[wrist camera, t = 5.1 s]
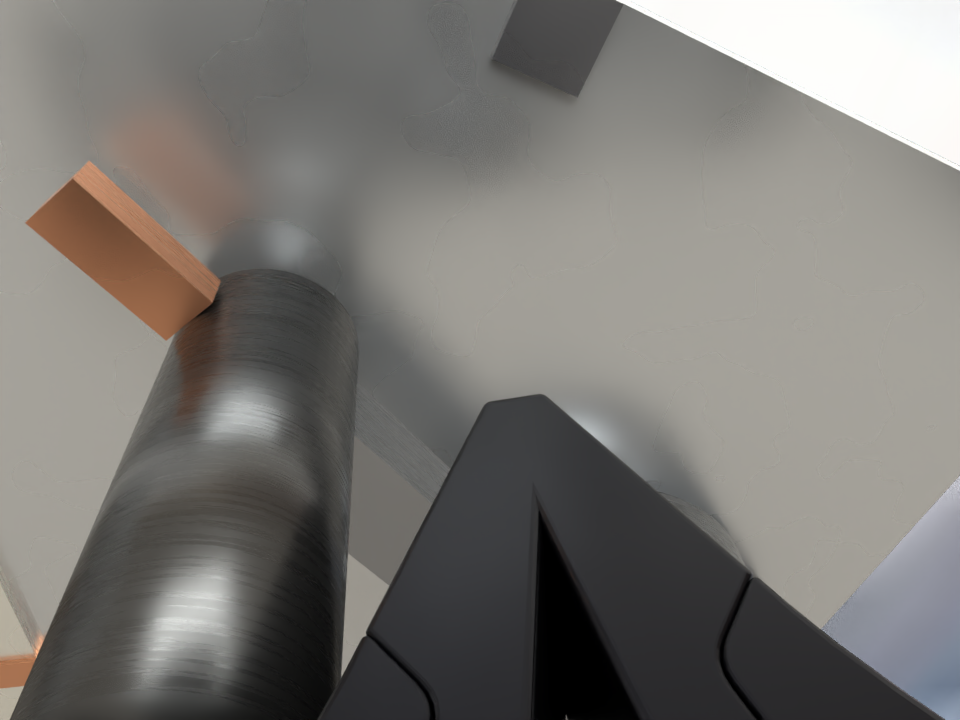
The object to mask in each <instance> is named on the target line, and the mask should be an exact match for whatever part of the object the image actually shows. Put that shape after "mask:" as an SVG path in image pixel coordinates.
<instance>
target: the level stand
mask: <svg viewBox="0 0 960 720" xmlns="http://www.w3.org/2000/svg"><path fill="white" fill-rule="evenodd" d="M88 161H90V162H91V163H93V164H94V165H95V166H96V167H97V168H98V169H99V170H100V171H101V172H102V173H103V174H105V175H106V176H107V177H108V178H109V179H110V180H111V181H112V182H113V183H114V184H116V185H117V186H118V187H119V188H120V189H121V190H122V191H123V192H124V193H125V194H127V195H128V196H129V197H130V198H131V199H132V200H133V201H134V202H135V203H136V204H138V205H139V206H140V207H141V208H142V209H143V210H144V211H145V212H146V213H147V214H148V215H150V216H151V217H152V218H153V219H154V220H155V221H156V222H157V223H158V224H159V225H161V226H162V227H163V228H164V229H165V230H166V231H167V232H168V233H169V234H170V235H172V236H173V237H174V238H175V239H176V240H177V241H178V242H179V243H180V244H181V245H182V246H184V247H185V248H186V249H187V250H188V251H189V252H190V253H191V254H192V255H193V256H195V257H196V258H197V259H198V260H199V261H200V262H201V263H202V264H203V265H204V266H206V267H207V268H208V269H209V270H210V271H211V272H212V273H213V274H214V275H215V276H216V277H218V278H220V277H222V276H225V275H228V274H230V273H233V272H237V271H242V270H247V269H257V268H264V269H277V270H284V271H288V272H292V273H295V274H298V275H301V276H303V277H306V278H308V279H310V280H312V281H314V282H316V283H318V284H319V285H320V286H322V287H323V288H325V289H326V290H328V291H329V292H330V293H331V294H332V295H333V296H335V297H336V298H337V299H338V301H339V302H340V303H341V304H342V305H343V306H344V308H345V309H346V311H347V312H348V314H349V315H350V317H351V319H352V321H353V323H354V326H355V329H356V332H357V336H358V342H359V363H358V383H359V384H360V385H361V386H362V387H363V388H364V389H365V390H366V391H367V392H369V393H370V394H371V395H372V396H373V397H374V398H375V399H376V400H377V401H378V402H379V403H380V404H381V405H383V406H384V407H385V408H386V409H387V410H388V411H389V412H390V413H391V414H392V415H393V416H394V417H395V418H396V419H398V420H399V421H400V422H401V423H402V424H403V425H404V426H405V427H406V428H407V429H408V430H409V431H410V432H412V433H413V434H414V435H415V436H416V437H417V438H418V439H419V440H420V441H421V442H422V443H423V444H424V445H426V446H427V447H428V448H429V449H430V450H431V451H432V452H433V453H434V454H435V455H436V456H437V457H438V458H440V459H441V460H442V461H443V462H444V463H445V464H446V465H447V466H448V467H449V468H450V469H451V467H452V465H453V463H454V461H455V459H456V457H457V455H458V454H459V452H460V450H461V448H462V446H463V444H464V442H465V440H466V438H467V436H468V434H469V432H470V430H471V429H472V427H473V425H474V423H475V421H476V419H477V417H478V415H479V413H480V411H481V409H482V408H483V406H484V404H486V403H487V402H489V401H495V400H502V399H509V398H515V397H521V396H528V395H534V394H543V395H546V396H547V397H548V398H549V399H551V400H552V401H553V402H554V403H555V404H556V405H558V406H559V407H560V408H561V409H562V410H563V411H565V412H566V413H567V414H568V415H569V416H570V417H572V418H573V419H574V420H575V421H576V422H577V423H579V424H580V425H581V426H582V427H583V428H584V429H585V430H587V431H588V432H589V433H590V434H591V435H592V436H594V437H595V438H596V439H597V440H598V441H599V442H601V443H602V444H603V445H604V446H605V447H606V448H608V449H609V450H610V451H611V452H612V453H613V454H615V455H616V456H617V457H618V458H619V459H620V460H622V461H623V462H624V463H625V464H626V465H627V466H629V467H630V468H631V469H632V470H633V471H634V472H636V473H637V474H638V475H639V476H640V477H641V478H643V479H644V480H645V481H646V482H647V483H648V484H650V485H651V486H652V487H653V488H654V489H655V490H657V491H658V492H663V493H666V494H669V495H672V496H675V497H678V498H681V499H683V500H685V501H687V502H689V503H691V504H693V505H695V506H697V507H699V508H700V509H702V510H703V511H704V512H706V513H707V514H709V515H710V516H712V517H713V518H714V519H715V520H716V521H717V522H718V523H719V524H720V525H721V526H722V527H723V528H724V529H725V530H726V531H727V533H728V534H729V536H730V537H731V538H732V540H733V541H734V543H735V545H736V547H737V549H738V551H739V553H740V555H741V557H742V559H743V561H744V563H745V565H746V567H747V569H749V570H750V571H751V573H752V578H753V577H758V578H760V579H761V580H762V581H763V582H764V583H765V584H767V585H768V586H769V587H770V588H771V589H772V590H774V591H775V592H776V593H777V594H778V595H779V596H781V597H782V598H783V599H784V600H785V601H786V602H788V603H789V604H790V605H791V606H792V607H794V608H795V609H796V610H797V611H799V612H800V613H801V614H802V615H804V616H805V617H806V618H807V619H809V620H810V621H811V622H812V623H813V624H815V625H816V626H817V627H818V628H820V629H821V628H822V627H823V626H824V625H825V624H826V623H827V622H828V621H829V620H830V618H831V617H832V616H833V615H834V614H835V613H836V612H837V611H838V610H839V608H840V607H841V606H842V605H843V604H844V603H845V602H846V601H847V600H848V599H849V597H850V596H851V595H852V594H853V593H854V592H855V591H856V590H857V589H858V587H859V586H860V585H861V584H862V583H863V582H864V581H865V580H866V579H867V578H868V576H869V575H870V574H871V573H872V572H873V571H874V570H875V569H876V568H877V566H878V565H879V564H880V563H881V562H882V561H883V560H884V559H885V558H886V556H887V555H888V554H889V553H890V552H891V551H892V550H893V549H894V548H895V547H896V545H897V544H898V543H899V542H900V541H901V540H902V539H903V538H904V537H905V535H906V534H907V533H908V532H909V531H910V530H911V529H912V528H913V527H914V526H915V524H916V523H917V522H918V521H919V520H920V519H921V518H922V517H923V516H924V514H925V513H926V512H927V511H928V510H929V509H930V508H931V507H932V506H933V505H934V503H935V502H936V501H937V500H938V499H939V498H940V497H941V496H942V495H943V493H944V492H945V491H946V490H947V489H948V488H949V487H950V486H951V485H952V484H953V482H954V481H955V480H956V479H957V478H958V477H959V476H960V166H959V165H957V164H955V163H953V162H951V161H949V160H946V159H944V158H942V157H940V156H938V155H936V154H934V153H932V152H930V151H928V150H926V149H924V148H922V147H920V146H918V145H916V144H914V143H912V142H910V141H908V140H906V139H904V138H902V137H900V136H898V135H896V134H894V133H892V132H890V131H888V130H886V129H884V128H882V127H880V126H878V125H876V124H874V123H872V122H870V121H868V120H866V119H864V118H862V117H860V116H858V115H856V114H854V113H852V112H850V111H848V110H846V109H844V108H842V107H840V106H838V105H836V104H834V103H832V102H830V101H828V100H826V99H824V98H822V97H820V96H818V95H816V94H814V93H812V92H810V91H808V90H806V89H804V88H802V87H800V86H798V85H796V84H794V83H792V82H790V81H788V80H786V79H784V78H782V77H780V76H778V75H776V74H774V73H772V72H770V71H768V70H766V69H764V68H762V67H760V66H758V65H756V64H754V63H752V62H750V61H748V60H746V59H744V58H742V57H740V56H738V55H736V54H734V53H732V52H730V51H728V50H726V49H724V48H722V47H720V46H718V45H716V44H714V43H712V42H710V41H708V40H706V39H704V38H702V37H700V36H698V35H696V34H694V33H692V32H690V31H688V30H686V29H684V28H682V27H680V26H678V25H676V24H674V23H672V22H670V21H668V20H666V19H664V18H662V17H660V16H658V15H656V14H654V13H652V12H650V11H648V10H646V9H644V8H642V7H640V6H638V5H636V4H634V3H632V2H630V1H628V0H0V720H10V718H11V716H12V713H13V711H14V709H15V706H16V704H17V702H18V699H19V697H20V695H21V692H22V690H23V688H24V685H25V683H26V681H27V678H28V676H29V674H30V671H31V669H32V667H33V664H34V662H35V660H36V657H37V655H38V653H39V650H40V648H41V646H42V643H43V641H44V638H45V636H46V634H47V631H48V629H49V627H50V624H51V622H52V620H53V617H54V615H55V613H56V610H57V608H58V606H59V603H60V601H61V599H62V596H63V594H64V592H65V589H66V587H67V585H68V582H69V580H70V578H71V575H72V573H73V571H74V568H75V566H76V564H77V561H78V559H79V557H80V554H81V552H82V550H83V547H84V545H85V543H86V540H87V538H88V536H89V533H90V531H91V529H92V526H93V524H94V522H95V519H96V517H97V515H98V512H99V510H100V508H101V505H102V503H103V501H104V498H105V496H106V494H107V491H108V489H109V487H110V484H111V482H112V480H113V477H114V475H115V473H116V470H117V468H118V466H119V463H120V461H121V459H122V456H123V454H124V452H125V449H126V447H127V445H128V442H129V440H130V438H131V435H132V433H133V431H134V428H135V426H136V424H137V421H138V419H139V417H140V414H141V412H142V410H143V407H144V405H145V403H146V400H147V398H148V396H149V393H150V391H151V389H152V386H153V384H154V382H155V379H156V377H157V375H158V372H159V370H160V368H161V365H162V363H163V361H164V358H165V356H166V354H167V351H168V349H169V347H170V344H171V342H172V340H173V337H174V335H175V334H174V335H173V336H172V337H170V338H169V339H168V340H167V341H166V340H165V339H163V338H162V337H161V336H160V335H159V334H157V333H156V332H155V331H154V330H153V329H151V328H150V327H149V326H148V325H147V324H145V323H144V322H143V321H142V320H141V319H139V318H138V317H137V316H136V315H135V314H133V313H132V312H131V311H130V310H129V309H127V308H126V307H125V306H124V305H123V304H122V303H120V302H119V301H118V300H117V299H116V298H114V297H113V296H112V295H111V294H110V293H108V292H107V291H106V290H105V289H104V288H102V287H101V286H100V285H99V284H98V283H96V282H95V281H94V280H93V279H92V278H90V277H89V276H88V275H87V274H86V273H84V272H83V271H82V270H81V269H80V268H78V267H77V266H76V265H75V264H74V263H72V262H71V261H70V260H69V259H68V258H66V257H65V256H64V255H63V254H62V253H60V252H59V251H58V250H57V249H56V248H54V247H53V246H52V245H51V244H50V243H48V242H47V241H46V240H45V239H44V238H42V237H41V236H40V235H39V234H38V233H36V232H35V231H34V230H33V229H32V228H30V227H29V226H28V225H27V224H26V223H25V222H26V221H27V220H28V219H29V218H30V217H31V216H32V215H33V214H34V213H35V212H36V211H37V210H38V209H39V207H40V206H41V205H42V204H43V203H44V202H45V201H46V200H47V199H49V198H50V197H51V196H52V195H53V194H54V193H55V192H56V191H57V190H58V189H59V188H60V187H61V186H63V185H64V184H65V183H66V182H67V181H68V180H69V179H70V178H71V177H72V176H73V175H74V174H75V173H76V172H78V171H79V170H80V169H81V168H82V167H83V166H84V165H85V164H86V163H87V162H88ZM388 588H389V585H388V584H386V583H385V582H384V581H383V580H381V579H380V578H379V577H378V576H376V575H375V574H374V573H372V572H371V571H370V570H369V569H367V568H366V567H365V566H364V565H362V564H361V563H360V562H358V561H357V560H356V559H355V558H353V557H352V556H351V555H349V554H348V562H347V580H346V598H345V617H344V635H343V653H342V671H341V677H342V675H343V673H344V671H345V670H346V668H347V666H348V664H349V662H350V660H351V658H352V656H353V654H354V652H355V650H356V648H357V646H358V644H359V642H360V640H361V639H362V638H363V637H364V636H366V630H367V628H368V626H369V624H370V622H371V620H372V618H373V616H374V615H375V613H376V611H377V609H378V607H379V605H380V603H381V601H382V599H383V597H384V595H385V593H386V592H387V590H388Z"/></svg>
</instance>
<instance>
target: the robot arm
mask: <svg viewBox="0 0 960 720" xmlns="http://www.w3.org/2000/svg"><path fill="white" fill-rule="evenodd" d="M566 716H567V720H945V719H944V718H942V717H941V716H939V715H938V714H936V713H935V712H933V711H932V710H931V709H929V708H928V707H926V706H925V705H923V704H922V703H920V702H919V701H918V700H916V699H915V698H913V697H912V696H910V695H909V694H907V693H906V692H904V691H903V690H902V689H900V688H899V687H897V686H896V685H895V684H893V683H892V682H891V681H889V680H888V679H886V678H885V677H884V676H882V675H881V674H880V673H878V672H877V671H875V670H874V669H873V668H871V667H870V666H869V665H867V664H866V663H864V662H863V661H862V660H860V659H859V658H857V657H856V656H855V655H853V654H852V653H851V652H849V651H848V650H846V649H845V648H844V647H842V646H841V645H840V644H838V643H837V642H836V641H835V640H833V639H832V638H831V637H830V636H828V635H827V634H826V633H825V632H823V631H822V630H821V629H820V628H818V627H817V626H816V625H815V624H813V623H812V622H811V621H810V620H809V619H807V618H806V617H805V616H804V615H802V614H801V613H800V612H799V611H797V610H796V609H795V608H794V607H792V606H791V605H790V604H789V603H788V602H786V601H785V600H784V599H783V598H782V597H781V596H779V595H778V594H777V593H776V592H775V591H774V590H772V589H771V588H770V587H769V586H768V585H767V584H765V583H764V582H763V581H762V580H761V579H760V578H758V577H753V578H752V573H751V571H750V570H749V569H747V568H746V567H745V566H744V565H743V564H742V563H741V562H739V561H738V560H737V559H736V558H735V557H734V556H732V555H731V554H730V553H729V552H728V551H727V550H725V549H724V548H723V547H722V546H721V545H720V544H718V543H717V542H716V541H715V540H714V539H713V538H711V537H710V536H709V535H708V534H707V533H706V532H704V531H703V530H702V529H701V528H700V527H699V526H697V525H696V524H695V523H694V522H693V521H692V520H690V519H689V518H688V517H687V516H686V515H685V514H683V513H682V512H681V511H680V510H679V509H678V508H676V507H675V506H674V505H673V504H672V503H671V502H669V501H668V500H667V499H666V498H665V497H664V496H662V495H661V494H660V493H659V492H658V491H657V490H655V489H654V488H653V487H652V486H651V485H650V484H648V483H647V482H646V481H645V480H644V479H643V478H641V477H640V476H639V475H638V474H637V473H636V472H634V471H633V470H632V469H631V468H630V467H629V466H627V465H626V464H625V463H624V462H623V461H622V460H620V459H619V458H618V457H617V456H616V455H615V454H613V453H612V452H611V451H610V450H609V449H608V448H606V447H605V446H604V445H603V444H602V443H601V442H599V441H598V440H597V439H596V438H595V437H594V436H592V435H591V434H590V433H589V432H588V431H587V430H585V429H584V428H583V427H582V426H581V425H580V424H579V423H577V422H576V421H575V420H574V419H573V418H572V417H570V416H569V415H568V414H567V413H566V412H565V411H563V410H562V409H561V408H560V407H559V406H558V405H556V404H555V403H554V402H553V401H552V400H551V399H549V398H548V397H547V396H546V395H543V394H534V395H528V396H521V397H515V398H509V399H502V400H495V401H489V402H487V403H486V404H484V406H483V408H482V409H481V411H480V413H479V415H478V417H477V419H476V421H475V423H474V425H473V427H472V429H471V430H470V432H469V434H468V436H467V438H466V440H465V442H464V444H463V446H462V448H461V450H460V452H459V454H458V455H457V457H456V459H455V461H454V463H453V465H452V467H451V469H450V471H449V473H448V475H447V477H446V478H445V480H444V482H443V484H442V486H441V488H440V490H439V492H438V494H437V496H436V498H435V500H434V501H433V503H432V505H431V507H430V509H429V511H428V513H427V515H426V517H425V519H424V521H423V523H422V524H421V526H420V528H419V530H418V532H417V534H416V536H415V538H414V540H413V542H412V544H411V546H410V547H409V549H408V551H407V553H406V555H405V557H404V559H403V561H402V563H401V565H400V567H399V569H398V570H397V572H396V574H395V576H394V578H393V580H392V582H391V584H390V586H389V588H388V590H387V592H386V593H385V595H384V597H383V599H382V601H381V603H380V605H379V607H378V609H377V611H376V613H375V615H374V616H373V618H372V620H371V622H370V624H369V626H368V628H367V630H366V636H364V637H363V638H362V639H361V640H360V642H359V644H358V646H357V648H356V650H355V652H354V654H353V656H352V658H351V660H350V662H349V664H348V666H347V668H346V670H345V671H344V673H343V675H342V677H341V679H340V680H339V682H338V684H337V686H336V688H335V689H334V691H333V693H332V695H331V696H330V698H329V700H328V702H327V703H326V705H325V707H324V709H323V710H322V712H321V714H320V716H319V718H318V719H317V720H566Z"/></svg>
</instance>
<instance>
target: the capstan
mask: <svg viewBox="0 0 960 720" xmlns="http://www.w3.org/2000/svg"><path fill="white" fill-rule="evenodd" d="M25 223H26V224H27V225H28V226H29V227H30V228H32V229H33V230H34V231H35V232H36V233H38V234H39V235H40V236H41V237H42V238H44V239H45V240H46V241H47V242H48V243H50V244H51V245H52V246H53V247H54V248H56V249H57V250H58V251H59V252H60V253H62V254H63V255H64V256H65V257H66V258H68V259H69V260H70V261H71V262H72V263H74V264H75V265H76V266H77V267H78V268H80V269H81V270H82V271H83V272H84V273H86V274H87V275H88V276H89V277H90V278H92V279H93V280H94V281H95V282H96V283H98V284H99V285H100V286H101V287H102V288H104V289H105V290H106V291H107V292H108V293H110V294H111V295H112V296H113V297H114V298H116V299H117V300H118V301H119V302H120V303H122V304H123V305H124V306H125V307H126V308H127V309H129V310H130V311H131V312H132V313H133V314H135V315H136V316H137V317H138V318H139V319H141V320H142V321H143V322H144V323H145V324H147V325H148V326H149V327H150V328H151V329H153V330H154V331H155V332H156V333H157V334H159V335H160V336H161V337H162V338H163V339H165V340H166V341H167V340H168V339H169V338H170V337H172V336H173V335H174V334H175V335H174V337H173V340H172V342H171V344H170V347H169V349H168V351H167V354H166V356H165V358H164V361H163V363H162V365H161V368H160V370H159V372H158V375H157V377H156V379H155V382H154V384H153V386H152V389H151V391H150V393H149V396H148V398H147V400H146V403H145V405H144V407H143V410H142V412H141V414H140V417H139V419H138V421H137V424H136V426H135V428H134V431H133V433H132V435H131V438H130V440H129V442H128V445H127V447H126V449H125V452H124V454H123V456H122V459H121V461H120V463H119V466H118V468H117V470H116V473H115V475H114V477H113V480H112V482H111V484H110V487H109V489H108V491H107V494H106V496H105V498H104V501H103V503H102V505H101V508H100V510H99V512H98V515H97V517H96V519H95V522H94V524H93V526H92V529H91V531H90V533H89V536H88V538H87V540H86V543H85V545H84V547H83V550H82V552H81V554H80V557H79V559H78V561H77V564H76V566H75V568H74V571H73V573H72V575H71V578H70V580H69V582H68V585H67V587H66V589H65V592H64V594H63V596H62V599H61V601H60V603H59V606H58V608H57V610H56V613H55V615H54V617H53V620H52V622H51V624H50V627H49V629H48V631H47V634H46V636H45V638H44V641H43V643H42V646H41V648H40V650H39V653H38V655H37V657H36V660H35V662H34V664H33V667H32V669H31V671H30V674H29V676H28V678H27V681H26V683H25V685H24V688H23V690H22V692H21V695H20V697H19V699H18V702H17V704H16V706H15V709H14V711H13V713H12V716H11V718H10V720H317V719H318V718H319V716H320V714H321V712H322V710H323V709H324V707H325V705H326V703H327V702H328V700H329V698H330V696H331V695H332V693H333V691H334V689H335V688H336V686H337V684H338V682H339V680H340V679H341V671H342V653H343V635H344V617H345V598H346V580H347V562H348V554H349V555H351V556H352V557H353V558H355V559H356V560H357V561H358V562H360V563H361V564H362V565H364V566H365V567H366V568H367V569H369V570H370V571H371V572H372V573H374V574H375V575H376V576H378V577H379V578H380V579H381V580H383V581H384V582H385V583H386V584H388V585H389V586H390V584H391V582H392V580H393V578H394V576H395V574H396V572H397V570H398V569H399V567H400V565H401V563H402V561H403V559H404V557H405V555H406V553H407V551H408V549H409V547H410V546H411V544H412V542H413V540H414V538H415V536H416V534H417V532H418V530H419V528H420V526H421V524H422V523H423V521H424V519H425V517H426V515H427V513H428V511H429V509H430V507H431V505H432V503H433V501H434V500H435V498H436V496H437V494H438V492H439V490H440V488H441V486H442V484H443V482H444V480H445V478H446V477H447V475H448V473H449V471H450V468H449V467H448V466H447V465H446V464H445V463H444V462H443V461H442V460H441V459H440V458H438V457H437V456H436V455H435V454H434V453H433V452H432V451H431V450H430V449H429V448H428V447H427V446H426V445H424V444H423V443H422V442H421V441H420V440H419V439H418V438H417V437H416V436H415V435H414V434H413V433H412V432H410V431H409V430H408V429H407V428H406V427H405V426H404V425H403V424H402V423H401V422H400V421H399V420H398V419H396V418H395V417H394V416H393V415H392V414H391V413H390V412H389V411H388V410H387V409H386V408H385V407H384V406H383V405H381V404H380V403H379V402H378V401H377V400H376V399H375V398H374V397H373V396H372V395H371V394H370V393H369V392H367V391H366V390H365V389H364V388H363V387H362V386H361V385H360V384H359V383H358V363H359V342H358V336H357V332H356V329H355V326H354V323H353V321H352V319H351V317H350V315H349V314H348V312H347V311H346V309H345V308H344V306H343V305H342V304H341V303H340V302H339V301H338V299H337V298H336V297H335V296H333V295H332V294H331V293H330V292H329V291H328V290H326V289H325V288H323V287H322V286H320V285H319V284H318V283H316V282H314V281H312V280H310V279H308V278H306V277H303V276H301V275H298V274H295V273H292V272H288V271H284V270H277V269H264V268H257V269H247V270H242V271H237V272H233V273H230V274H228V275H225V276H222V277H220V278H218V277H216V276H215V275H214V274H213V273H212V272H211V271H210V270H209V269H208V268H207V267H206V266H204V265H203V264H202V263H201V262H200V261H199V260H198V259H197V258H196V257H195V256H193V255H192V254H191V253H190V252H189V251H188V250H187V249H186V248H185V247H184V246H182V245H181V244H180V243H179V242H178V241H177V240H176V239H175V238H174V237H173V236H172V235H170V234H169V233H168V232H167V231H166V230H165V229H164V228H163V227H162V226H161V225H159V224H158V223H157V222H156V221H155V220H154V219H153V218H152V217H151V216H150V215H148V214H147V213H146V212H145V211H144V210H143V209H142V208H141V207H140V206H139V205H138V204H136V203H135V202H134V201H133V200H132V199H131V198H130V197H129V196H128V195H127V194H125V193H124V192H123V191H122V190H121V189H120V188H119V187H118V186H117V185H116V184H114V183H113V182H112V181H111V180H110V179H109V178H108V177H107V176H106V175H105V174H103V173H102V172H101V171H100V170H99V169H98V168H97V167H96V166H95V165H94V164H93V163H91V162H90V161H88V162H87V163H86V164H85V165H84V166H83V167H82V168H81V169H80V170H79V171H78V172H76V173H75V174H74V175H73V176H72V177H71V178H70V179H69V180H68V181H67V182H66V183H65V184H64V185H63V186H61V187H60V188H59V189H58V190H57V191H56V192H55V193H54V194H53V195H52V196H51V197H50V198H49V199H47V200H46V201H45V202H44V203H43V204H42V205H41V206H40V207H39V209H38V210H37V211H36V212H35V213H34V214H33V215H32V216H31V217H30V218H29V219H28V220H27V221H26V222H25ZM659 493H660V494H661V495H662V496H664V497H665V498H666V499H667V500H668V501H669V502H671V503H672V504H673V505H674V506H675V507H676V508H678V509H679V510H680V511H681V512H682V513H683V514H685V515H686V516H687V517H688V518H689V519H690V520H692V521H693V522H694V523H695V524H696V525H697V526H699V527H700V528H701V529H702V530H703V531H704V532H706V533H707V534H708V535H709V536H710V537H711V538H713V539H714V540H715V541H716V542H717V543H718V544H720V545H721V546H722V547H723V548H724V549H725V550H727V551H728V552H729V553H730V554H731V555H732V556H734V557H735V558H736V559H737V560H738V561H739V562H741V563H742V564H743V565H744V566H745V567H746V565H745V563H744V561H743V559H742V557H741V555H740V553H739V551H738V549H737V547H736V545H735V543H734V541H733V540H732V538H731V537H730V536H729V534H728V533H727V531H726V530H725V529H724V528H723V527H722V526H721V525H720V524H719V523H718V522H717V521H716V520H715V519H714V518H713V517H712V516H710V515H709V514H707V513H706V512H704V511H703V510H702V509H700V508H699V507H697V506H695V505H693V504H691V503H689V502H687V501H685V500H683V499H681V498H678V497H675V496H672V495H669V494H666V493H663V492H659ZM746 568H747V567H746ZM566 720H567V716H566Z"/></svg>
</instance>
